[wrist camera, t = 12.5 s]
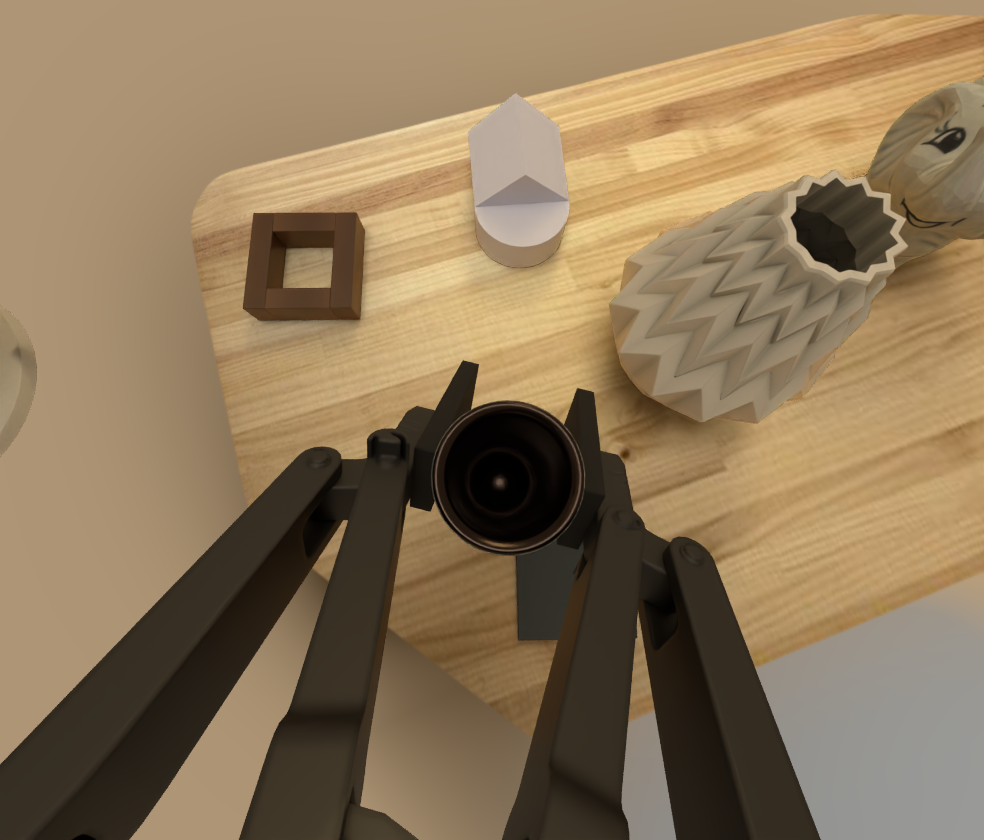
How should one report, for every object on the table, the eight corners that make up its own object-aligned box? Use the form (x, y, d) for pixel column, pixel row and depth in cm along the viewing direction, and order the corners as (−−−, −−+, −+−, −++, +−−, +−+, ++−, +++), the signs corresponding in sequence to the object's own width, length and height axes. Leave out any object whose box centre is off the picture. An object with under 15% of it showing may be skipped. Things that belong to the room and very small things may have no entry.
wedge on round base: (469, 160, 40) (479, 270, 38) (465, 96, 34) (477, 224, 31) (553, 155, 40) (567, 264, 38) (565, 89, 34) (584, 217, 32)
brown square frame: (258, 320, 37) (242, 308, 34) (268, 230, 39) (253, 212, 36) (360, 319, 37) (351, 307, 34) (365, 229, 39) (356, 212, 36)
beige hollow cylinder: (450, 453, 21) (415, 420, 11) (527, 433, 22) (561, 383, 11) (469, 533, 21) (450, 575, 10) (549, 511, 21) (606, 532, 11)
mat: (518, 638, 32) (518, 640, 31) (515, 517, 34) (515, 517, 33) (635, 636, 32) (637, 638, 32) (626, 515, 34) (628, 515, 33)
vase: (778, 337, 37) (1061, 190, 19) (696, 473, 34) (929, 457, 16) (638, 249, 38) (773, 35, 20) (549, 374, 36) (612, 258, 18)
